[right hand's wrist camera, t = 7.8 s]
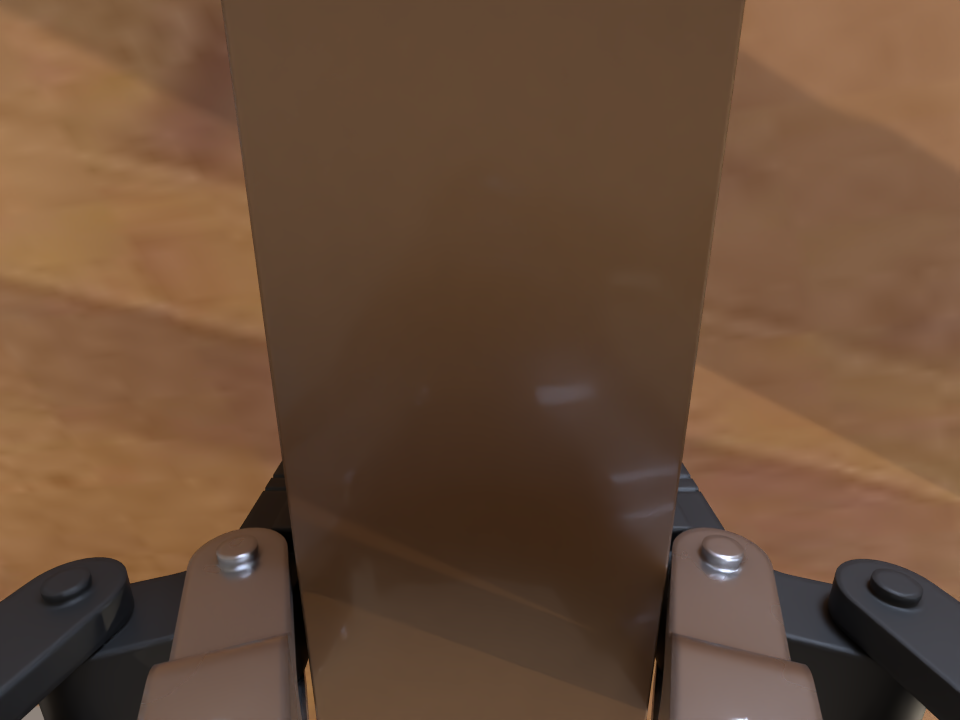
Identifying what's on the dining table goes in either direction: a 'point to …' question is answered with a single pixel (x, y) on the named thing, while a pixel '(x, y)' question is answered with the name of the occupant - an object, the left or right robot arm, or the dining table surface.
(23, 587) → the right robot arm
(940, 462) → the dining table surface
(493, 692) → the beam
